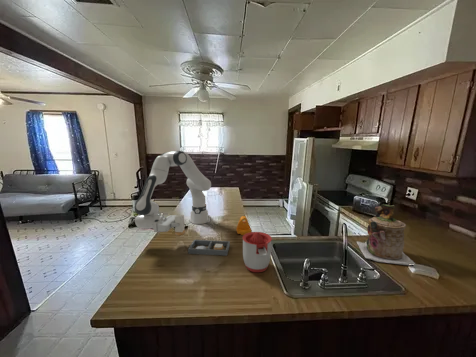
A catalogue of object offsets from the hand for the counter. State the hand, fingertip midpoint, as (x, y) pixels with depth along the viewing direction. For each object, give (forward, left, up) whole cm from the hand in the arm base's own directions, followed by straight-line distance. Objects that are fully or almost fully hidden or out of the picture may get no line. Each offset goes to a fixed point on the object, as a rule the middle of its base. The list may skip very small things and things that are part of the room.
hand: (180, 223), depth 137 cm
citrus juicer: (+20, +49, -16) cm, 56 cm away
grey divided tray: (+3, +19, -16) cm, 25 cm away
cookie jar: (-3, +126, -16) cm, 127 cm away
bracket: (-26, +39, -16) cm, 50 cm away
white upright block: (0, -1, -7) cm, 7 cm away
